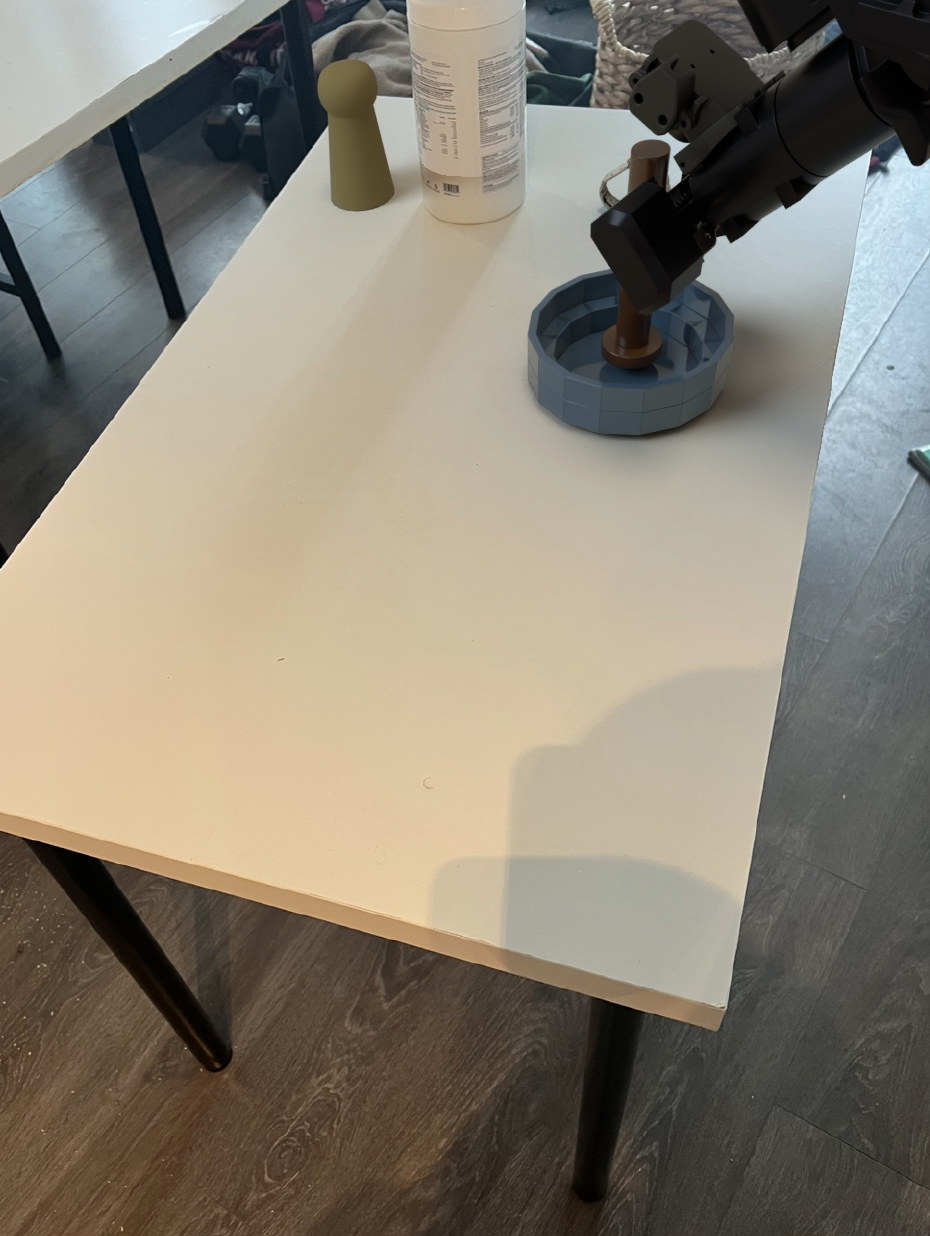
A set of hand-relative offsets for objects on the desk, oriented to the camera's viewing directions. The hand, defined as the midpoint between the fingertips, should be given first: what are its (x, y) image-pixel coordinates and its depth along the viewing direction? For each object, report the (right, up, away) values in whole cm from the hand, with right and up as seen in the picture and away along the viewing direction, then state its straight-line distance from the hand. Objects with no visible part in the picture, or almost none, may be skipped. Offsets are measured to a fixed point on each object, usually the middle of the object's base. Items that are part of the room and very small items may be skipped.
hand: (623, 255), depth 66 cm
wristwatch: (+5, +12, +19) cm, 23 cm away
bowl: (+1, -6, +6) cm, 9 cm away
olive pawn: (-19, +17, +25) cm, 36 cm away
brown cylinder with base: (+2, -5, +5) cm, 7 cm away
